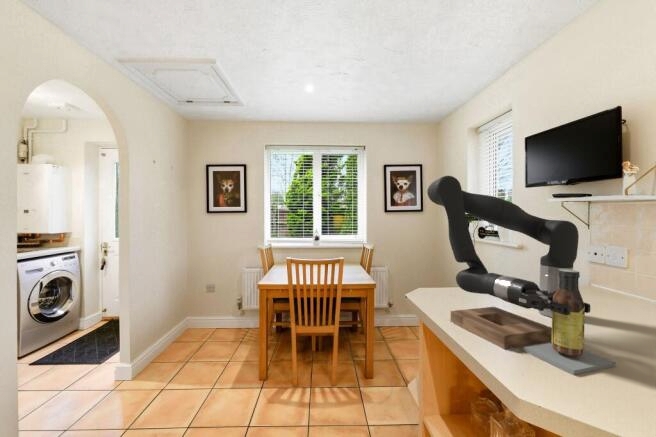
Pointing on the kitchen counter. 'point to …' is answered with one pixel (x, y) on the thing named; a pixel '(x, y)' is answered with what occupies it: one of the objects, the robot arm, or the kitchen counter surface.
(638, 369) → the kitchen counter surface
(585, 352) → the grey mat
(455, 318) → the seat block
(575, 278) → the sauce bottle
